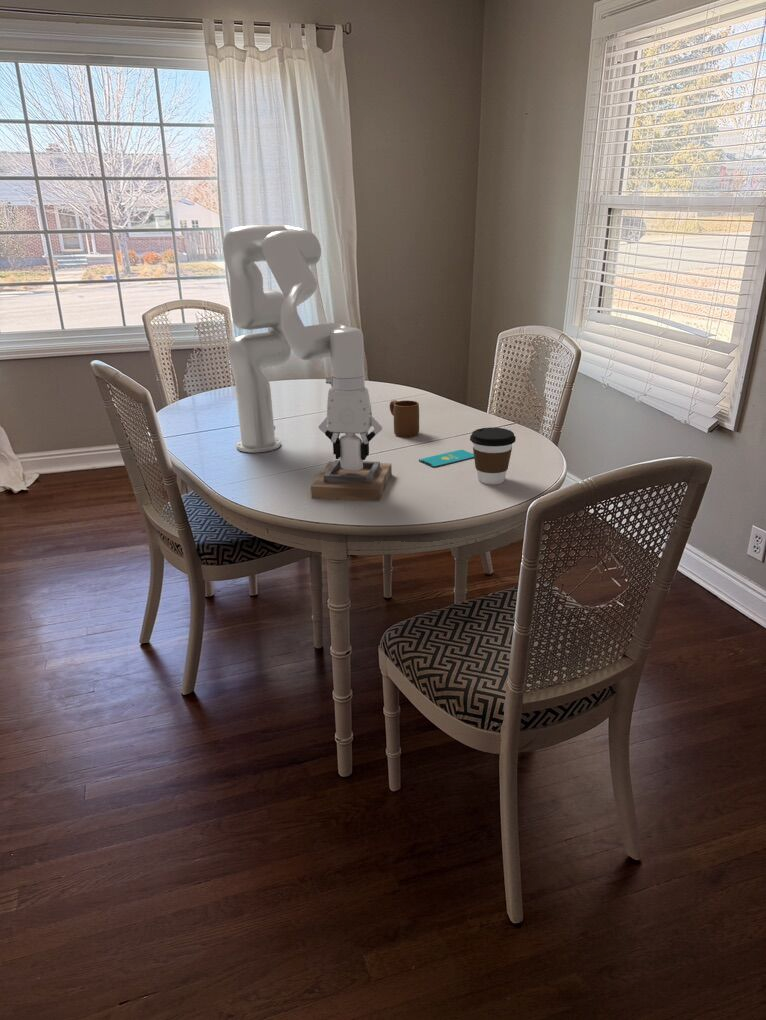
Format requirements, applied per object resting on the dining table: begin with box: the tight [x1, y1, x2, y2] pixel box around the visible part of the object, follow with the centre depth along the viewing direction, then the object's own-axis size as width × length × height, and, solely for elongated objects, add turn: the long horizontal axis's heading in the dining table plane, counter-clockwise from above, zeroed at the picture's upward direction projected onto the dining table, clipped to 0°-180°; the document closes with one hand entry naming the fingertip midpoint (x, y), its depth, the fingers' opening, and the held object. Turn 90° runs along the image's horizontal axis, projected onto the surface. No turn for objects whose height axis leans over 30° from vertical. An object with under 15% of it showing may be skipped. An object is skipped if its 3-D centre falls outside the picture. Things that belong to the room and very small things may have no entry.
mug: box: [389, 399, 420, 438], centre depth 211 cm, size 12×8×9 cm, turn 34°
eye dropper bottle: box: [339, 433, 364, 471], centre depth 168 cm, size 4×6×12 cm
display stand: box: [310, 459, 393, 502], centre depth 171 cm, size 18×16×4 cm
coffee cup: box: [469, 426, 517, 485], centre depth 171 cm, size 11×11×12 cm
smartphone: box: [418, 449, 474, 469], centre depth 189 cm, size 7×1×15 cm
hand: (351, 457), depth 169 cm, fingers closed on eye dropper bottle, 5 cm apart
